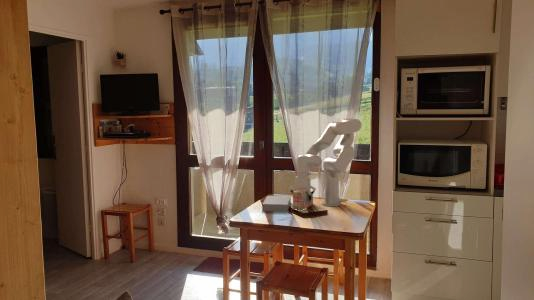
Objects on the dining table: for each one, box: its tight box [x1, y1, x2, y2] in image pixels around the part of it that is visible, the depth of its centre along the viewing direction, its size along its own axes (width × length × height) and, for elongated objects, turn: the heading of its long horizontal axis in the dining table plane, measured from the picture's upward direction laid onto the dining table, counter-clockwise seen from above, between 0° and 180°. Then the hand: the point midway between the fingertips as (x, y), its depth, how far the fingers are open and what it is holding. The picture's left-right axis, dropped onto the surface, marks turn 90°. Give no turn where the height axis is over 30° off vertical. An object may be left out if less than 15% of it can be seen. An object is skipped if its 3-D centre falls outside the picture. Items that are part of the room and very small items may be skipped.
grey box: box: [261, 195, 292, 213], centre depth 280 cm, size 16×26×5 cm, turn 173°
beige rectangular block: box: [292, 190, 314, 210], centre depth 277 cm, size 21×6×12 cm, turn 155°
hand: (302, 200), depth 277 cm, fingers open, 9 cm apart
